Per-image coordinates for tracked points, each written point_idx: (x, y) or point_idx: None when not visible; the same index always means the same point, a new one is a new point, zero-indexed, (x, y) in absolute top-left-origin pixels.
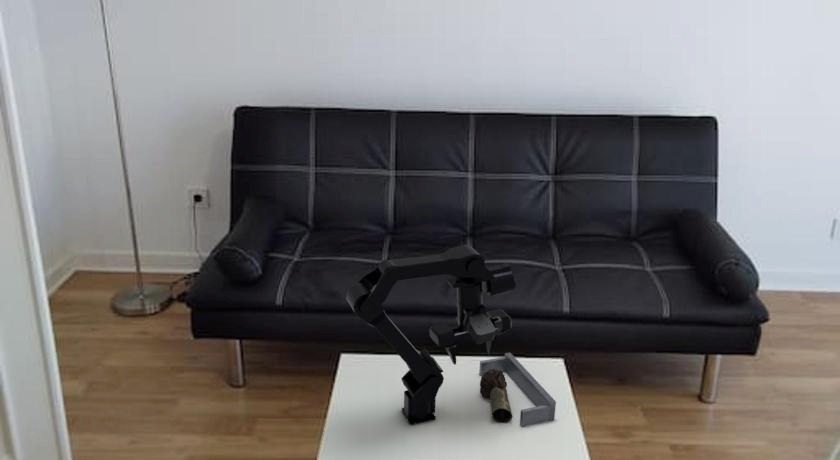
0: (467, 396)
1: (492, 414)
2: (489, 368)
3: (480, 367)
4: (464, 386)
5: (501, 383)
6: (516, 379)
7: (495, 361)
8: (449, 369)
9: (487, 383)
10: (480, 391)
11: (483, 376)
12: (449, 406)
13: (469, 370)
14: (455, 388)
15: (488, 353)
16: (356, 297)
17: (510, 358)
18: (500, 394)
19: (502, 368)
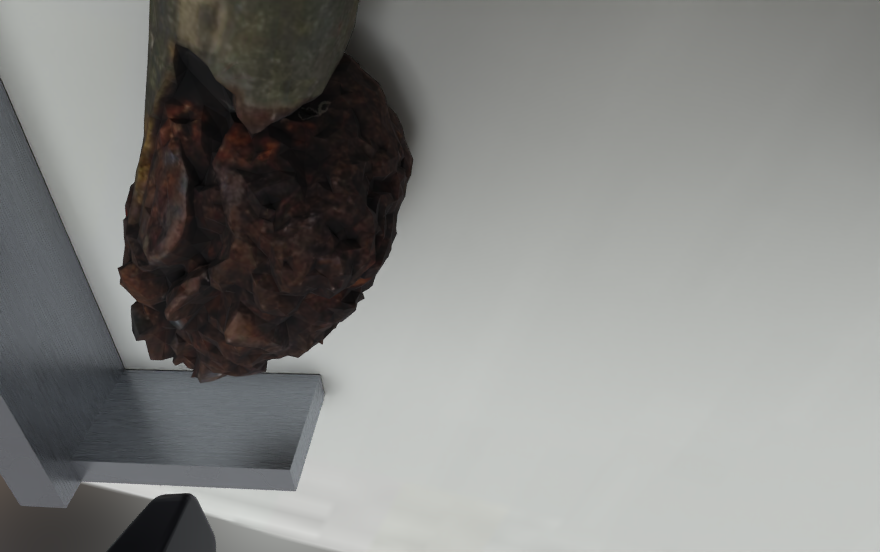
0: (523, 188)
1: None
2: (235, 416)
3: (305, 440)
4: (488, 311)
5: (174, 161)
6: (38, 248)
7: (167, 457)
8: (508, 491)
9: (328, 198)
10: (407, 178)
11: (337, 304)
12: (764, 94)
13: (377, 449)
14: (570, 309)
15: (206, 525)
16: None
17: (23, 446)
18: None
19: (135, 397)
